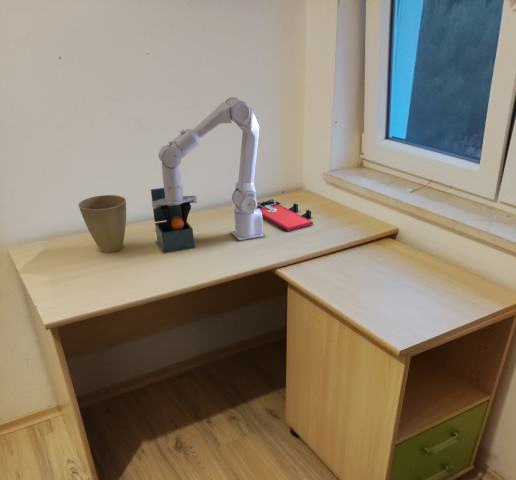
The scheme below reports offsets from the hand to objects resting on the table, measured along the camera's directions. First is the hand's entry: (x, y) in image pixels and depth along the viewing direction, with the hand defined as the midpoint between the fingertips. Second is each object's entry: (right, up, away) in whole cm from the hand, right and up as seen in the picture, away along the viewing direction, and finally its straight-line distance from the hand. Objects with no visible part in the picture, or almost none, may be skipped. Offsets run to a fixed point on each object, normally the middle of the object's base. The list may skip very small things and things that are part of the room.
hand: (177, 226), depth 169 cm
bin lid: (-3, +8, 0) cm, 8 cm away
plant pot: (-23, -7, +2) cm, 24 cm away
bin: (-1, -5, +4) cm, 7 cm away
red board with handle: (+36, +10, +27) cm, 46 cm away
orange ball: (0, +1, -1) cm, 1 cm away
